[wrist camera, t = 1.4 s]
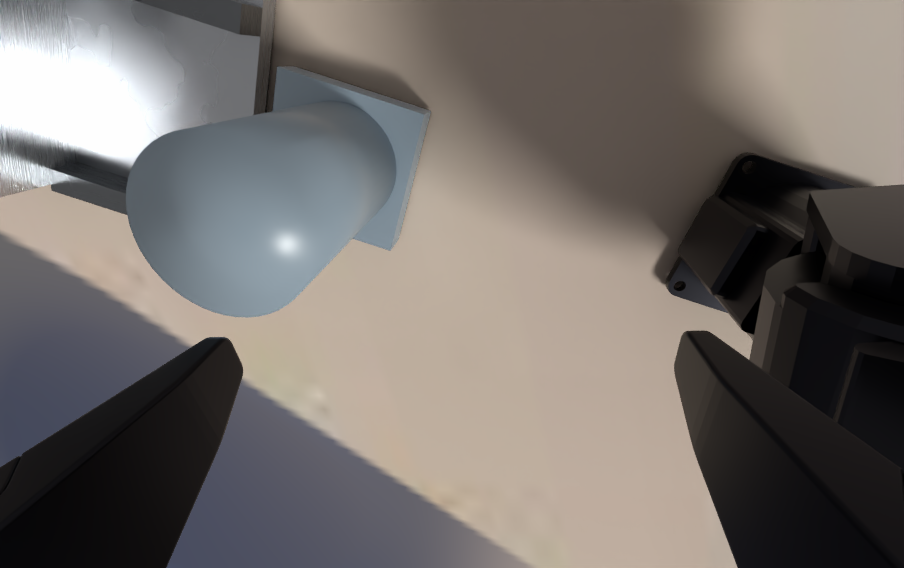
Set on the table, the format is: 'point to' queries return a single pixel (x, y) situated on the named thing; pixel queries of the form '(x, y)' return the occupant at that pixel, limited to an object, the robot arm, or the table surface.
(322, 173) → the blue-grey knob on base
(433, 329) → the table surface
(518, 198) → the table surface
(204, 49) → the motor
